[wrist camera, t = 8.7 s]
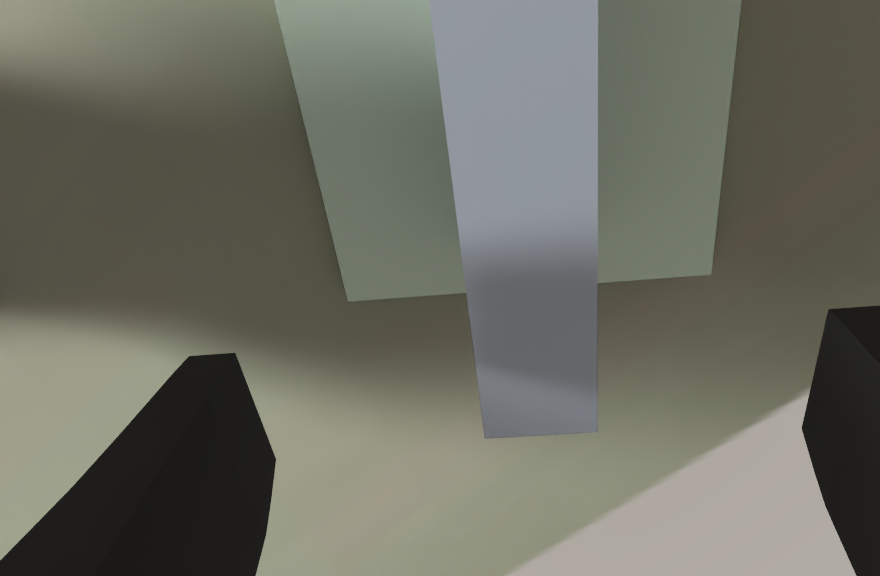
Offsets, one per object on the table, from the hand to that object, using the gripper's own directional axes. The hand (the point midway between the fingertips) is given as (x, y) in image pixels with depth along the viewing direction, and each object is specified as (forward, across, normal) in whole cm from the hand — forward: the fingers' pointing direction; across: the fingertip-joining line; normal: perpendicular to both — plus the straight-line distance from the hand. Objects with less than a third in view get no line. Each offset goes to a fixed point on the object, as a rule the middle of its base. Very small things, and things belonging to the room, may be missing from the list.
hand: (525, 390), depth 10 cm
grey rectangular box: (+8, 0, 0) cm, 9 cm away
